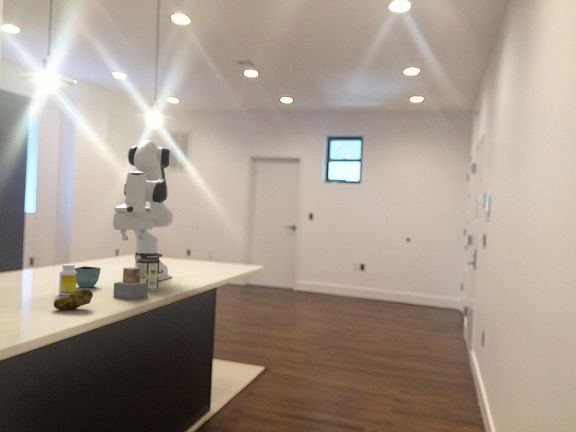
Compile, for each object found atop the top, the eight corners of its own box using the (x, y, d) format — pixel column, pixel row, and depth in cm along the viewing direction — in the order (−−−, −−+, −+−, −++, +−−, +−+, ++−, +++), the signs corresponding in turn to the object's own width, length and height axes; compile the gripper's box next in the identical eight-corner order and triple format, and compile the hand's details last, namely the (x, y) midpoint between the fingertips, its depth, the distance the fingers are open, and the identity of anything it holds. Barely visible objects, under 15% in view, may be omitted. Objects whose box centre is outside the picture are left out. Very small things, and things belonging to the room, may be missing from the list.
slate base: (130, 293, 221) (131, 279, 221) (147, 296, 216) (148, 282, 216) (113, 296, 212) (114, 281, 212) (130, 299, 207) (130, 284, 207)
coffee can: (144, 286, 241) (145, 257, 241) (162, 288, 238) (163, 259, 238) (131, 289, 232) (132, 259, 231) (149, 291, 228) (151, 261, 228)
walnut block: (131, 280, 217) (132, 267, 217) (139, 282, 215) (140, 268, 215) (122, 281, 213) (123, 268, 213) (131, 283, 210) (131, 269, 210)
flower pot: (89, 289, 227) (90, 269, 227) (72, 287, 228) (73, 268, 228) (100, 286, 235) (101, 267, 235) (83, 284, 237) (84, 266, 237)
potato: (58, 306, 187) (59, 285, 187) (93, 307, 189) (94, 286, 189) (51, 311, 179) (52, 289, 179) (88, 312, 181) (89, 290, 181)
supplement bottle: (78, 295, 211) (79, 265, 211) (62, 296, 207) (63, 266, 206) (71, 292, 216) (73, 263, 216) (56, 293, 211) (57, 264, 211)
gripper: (147, 208, 224) (145, 238, 224) (111, 207, 206) (109, 240, 206) (157, 209, 221) (155, 239, 221) (122, 208, 203) (120, 241, 203)
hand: (133, 240), depth 214 cm, fingers open, 8 cm apart
